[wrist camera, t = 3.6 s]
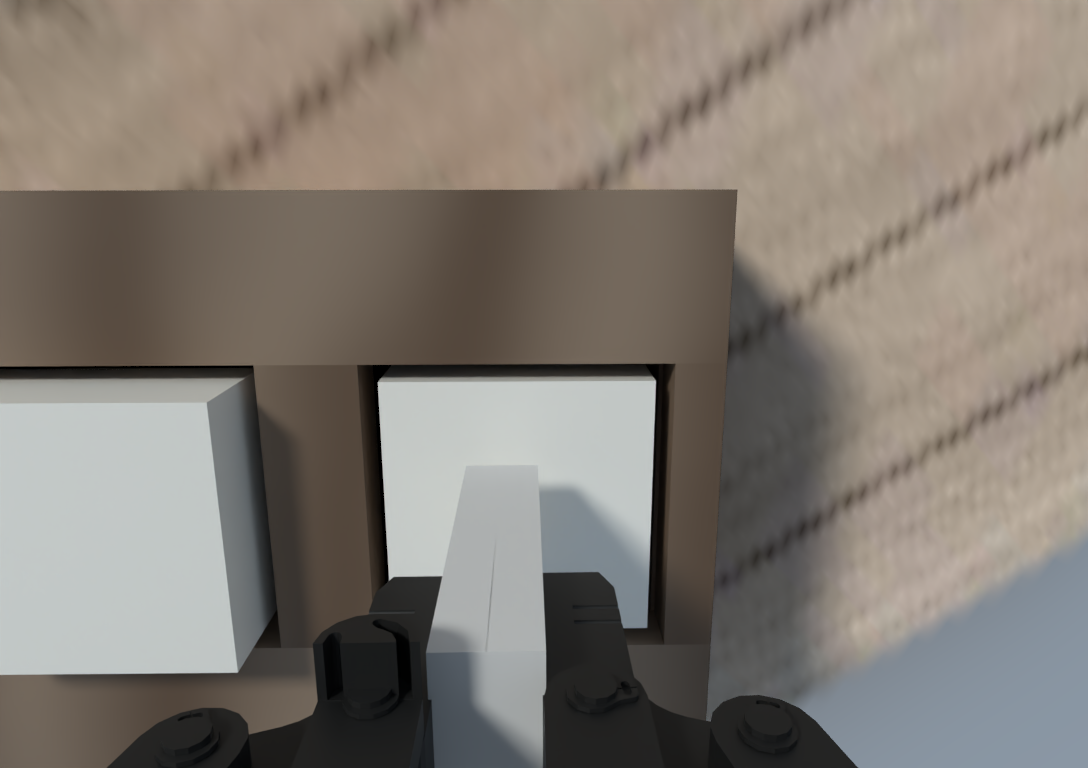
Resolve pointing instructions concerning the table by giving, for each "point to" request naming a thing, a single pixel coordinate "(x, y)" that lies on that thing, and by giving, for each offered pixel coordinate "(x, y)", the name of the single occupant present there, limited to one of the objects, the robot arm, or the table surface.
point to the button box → (371, 387)
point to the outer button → (525, 462)
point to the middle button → (131, 521)
